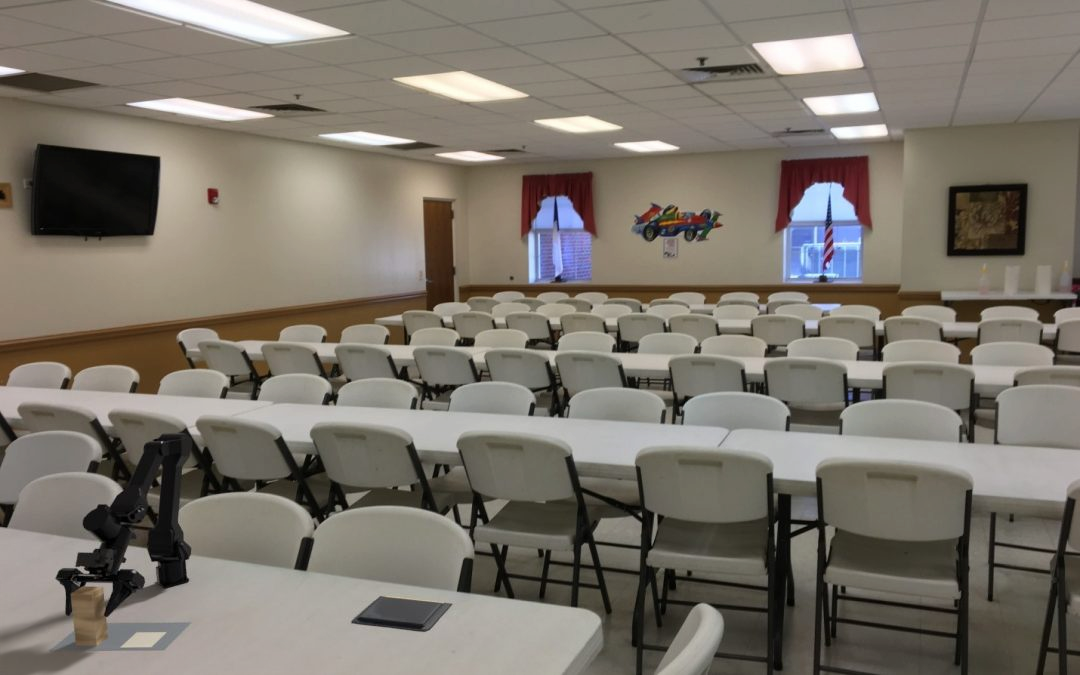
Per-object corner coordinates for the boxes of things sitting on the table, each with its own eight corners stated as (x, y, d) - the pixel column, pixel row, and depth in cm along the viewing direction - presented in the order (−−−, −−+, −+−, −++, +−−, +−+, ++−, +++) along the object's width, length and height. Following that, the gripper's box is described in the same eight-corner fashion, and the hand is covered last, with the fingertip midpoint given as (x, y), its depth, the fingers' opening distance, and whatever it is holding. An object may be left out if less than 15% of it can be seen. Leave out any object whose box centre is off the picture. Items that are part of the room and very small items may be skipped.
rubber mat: (49, 652, 184) (48, 650, 183) (83, 625, 196) (83, 622, 196) (164, 652, 182) (164, 649, 182) (191, 624, 195) (191, 621, 195)
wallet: (348, 617, 194) (380, 590, 208) (348, 625, 194) (381, 597, 208) (426, 628, 187) (454, 599, 202) (426, 636, 187) (454, 606, 202)
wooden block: (87, 636, 189) (82, 586, 188) (108, 637, 189) (103, 586, 187) (75, 645, 186) (70, 593, 184) (96, 646, 185) (91, 594, 183)
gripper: (56, 534, 190) (26, 601, 180) (133, 535, 187) (106, 603, 178) (82, 554, 198) (55, 619, 189) (156, 555, 196) (132, 621, 187)
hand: (86, 615), depth 185 cm, fingers open, 9 cm apart
